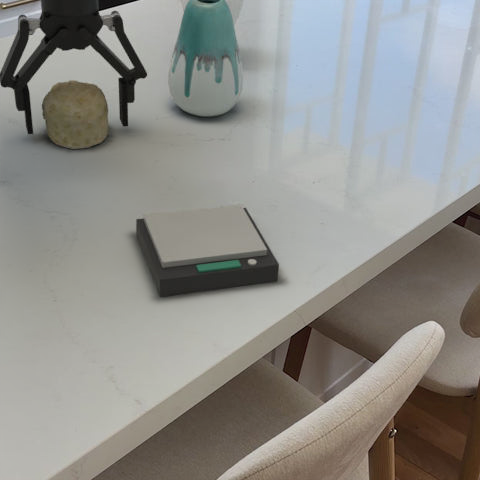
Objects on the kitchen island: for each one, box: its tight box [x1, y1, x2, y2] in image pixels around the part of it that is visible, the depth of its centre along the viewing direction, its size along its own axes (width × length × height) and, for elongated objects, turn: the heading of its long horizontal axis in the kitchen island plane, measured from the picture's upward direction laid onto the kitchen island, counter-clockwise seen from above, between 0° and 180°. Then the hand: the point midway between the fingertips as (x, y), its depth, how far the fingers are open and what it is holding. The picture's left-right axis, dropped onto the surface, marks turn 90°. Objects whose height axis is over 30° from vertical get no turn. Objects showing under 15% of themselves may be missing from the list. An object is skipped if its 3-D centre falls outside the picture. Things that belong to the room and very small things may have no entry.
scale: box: [135, 204, 280, 298], centre depth 105 cm, size 14×13×3 cm
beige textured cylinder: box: [41, 79, 110, 150], centre depth 128 cm, size 9×10×10 cm
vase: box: [167, 0, 244, 117], centre depth 136 cm, size 12×12×18 cm
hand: (77, 126), depth 129 cm, fingers open, 13 cm apart
